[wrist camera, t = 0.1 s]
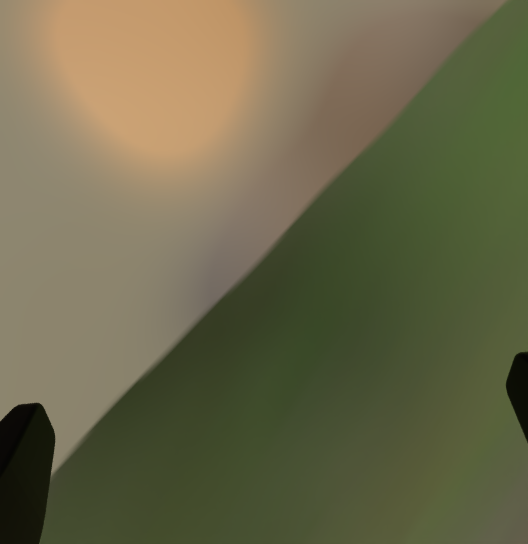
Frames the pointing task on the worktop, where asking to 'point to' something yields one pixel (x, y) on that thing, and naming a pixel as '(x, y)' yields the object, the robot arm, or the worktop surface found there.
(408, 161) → the worktop surface
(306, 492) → the worktop surface
